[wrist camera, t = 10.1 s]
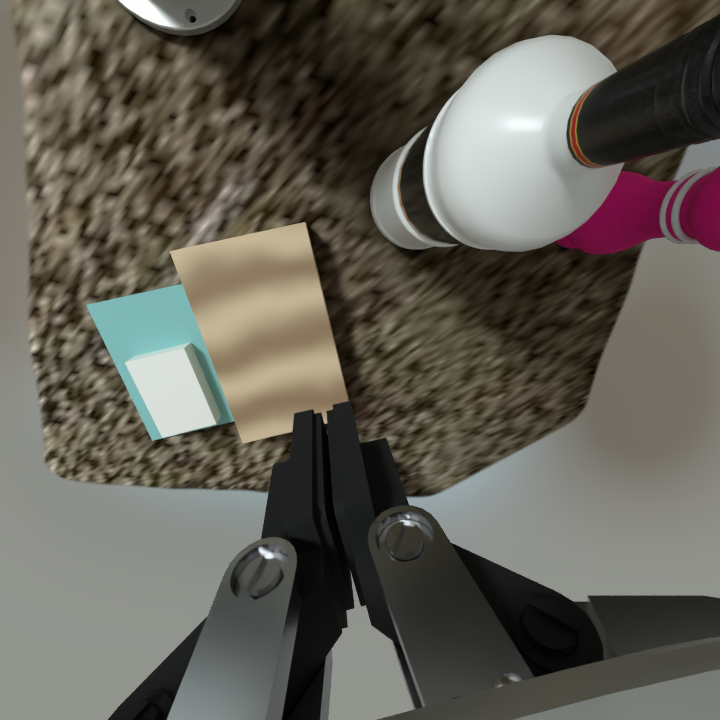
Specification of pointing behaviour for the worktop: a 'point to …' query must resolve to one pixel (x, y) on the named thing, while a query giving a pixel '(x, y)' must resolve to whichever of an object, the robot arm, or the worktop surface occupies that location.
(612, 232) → the pepper mill
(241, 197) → the worktop surface
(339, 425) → the robot arm
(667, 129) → the vodka
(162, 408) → the white rectangular block
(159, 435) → the mat
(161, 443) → the worktop surface
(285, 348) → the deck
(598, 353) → the worktop surface
